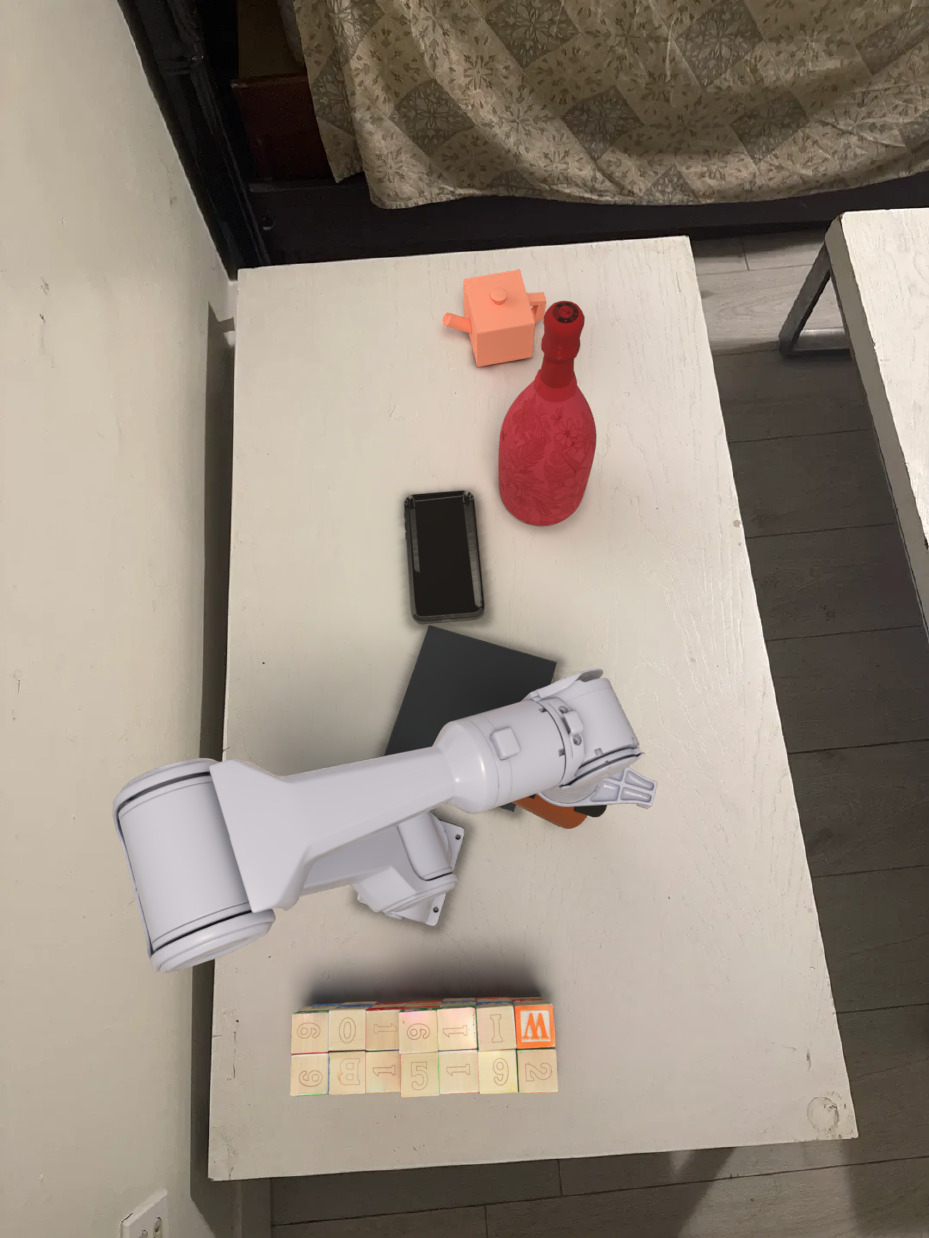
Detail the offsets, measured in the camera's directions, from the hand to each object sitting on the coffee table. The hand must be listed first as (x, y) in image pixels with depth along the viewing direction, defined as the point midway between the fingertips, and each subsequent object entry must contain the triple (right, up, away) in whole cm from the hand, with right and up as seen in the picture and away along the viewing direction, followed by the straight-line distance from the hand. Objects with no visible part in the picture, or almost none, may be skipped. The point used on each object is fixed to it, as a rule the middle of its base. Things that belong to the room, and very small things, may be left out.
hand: (557, 785), depth 78 cm
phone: (-11, +22, +17) cm, 30 cm away
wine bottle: (0, +29, +20) cm, 35 cm away
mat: (-8, +5, +11) cm, 14 cm away
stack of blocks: (-12, -23, +1) cm, 26 cm away
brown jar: (+2, -3, +6) cm, 7 cm away
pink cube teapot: (-5, +48, +27) cm, 56 cm away
